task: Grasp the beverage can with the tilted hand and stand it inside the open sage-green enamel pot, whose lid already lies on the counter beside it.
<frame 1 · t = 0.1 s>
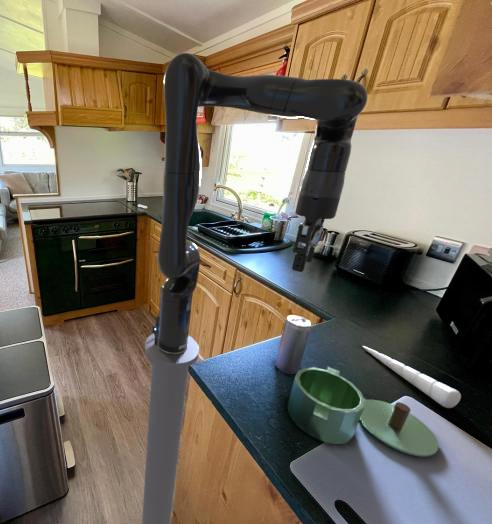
hand: (301, 265, 66), 31 cm above the countertop, tool pointing down, fingers open, 8 cm apart
beverage can: (286, 368, 80), on the countertop
pot: (318, 417, 64), on the countertop
pot lid: (394, 426, 62), point 1 cm above the countertop
unicorn horn: (402, 377, 78), on the countertop
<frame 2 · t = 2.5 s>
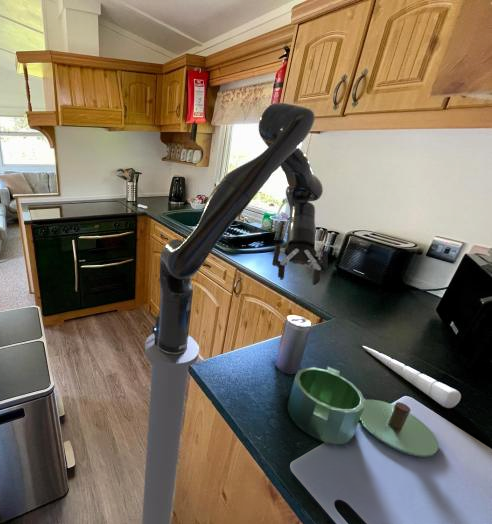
hand: (298, 281, 82), 22 cm above the countertop, tool tilted 45°, fingers open, 8 cm apart
nothing on the countertop moved.
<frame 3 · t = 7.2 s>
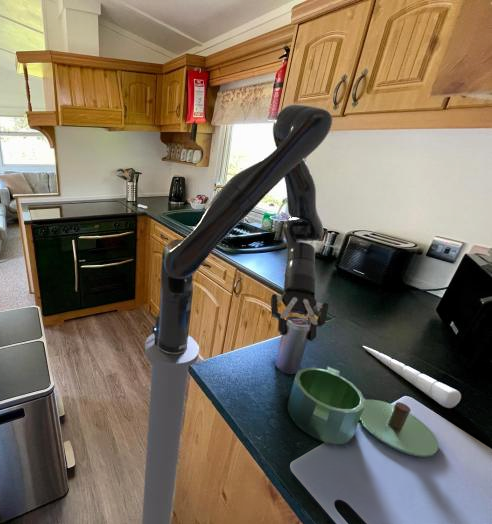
hand: (296, 336, 74), 11 cm above the countertop, tool tilted 45°, fingers closed on beverage can, 6 cm apart
beverage can: (286, 368, 80), on the countertop, touching gripper
everything else where it was.
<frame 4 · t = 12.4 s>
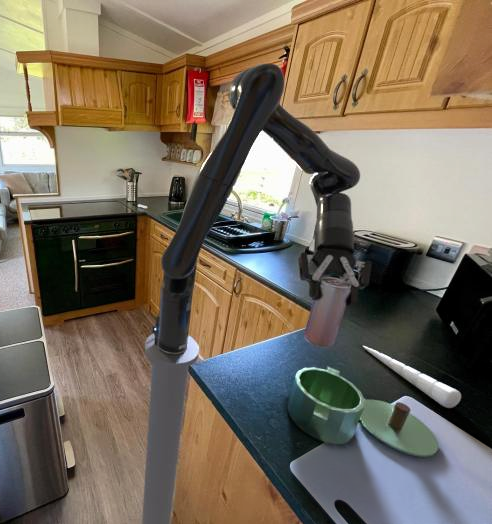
hand: (332, 301, 61), 26 cm above the countertop, tool tilted 45°, fingers closed on beverage can, 6 cm apart
beverage can: (317, 342, 66), point 15 cm above the countertop, touching gripper
everything else where it was.
when the fingers open (12 cm above the countertop, at t = 17.9 s): beverage can stays where it is, resting on pot.
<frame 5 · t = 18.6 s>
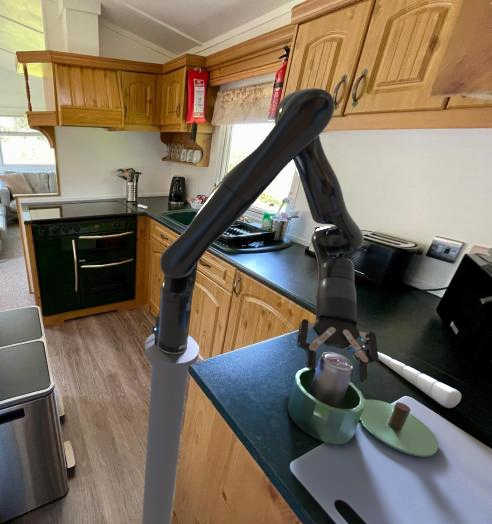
hand: (335, 376, 59), 13 cm above the countertop, tool tilted 45°, fingers open, 8 cm apart
beverage can: (318, 416, 64), resting on pot
everything else where it was.
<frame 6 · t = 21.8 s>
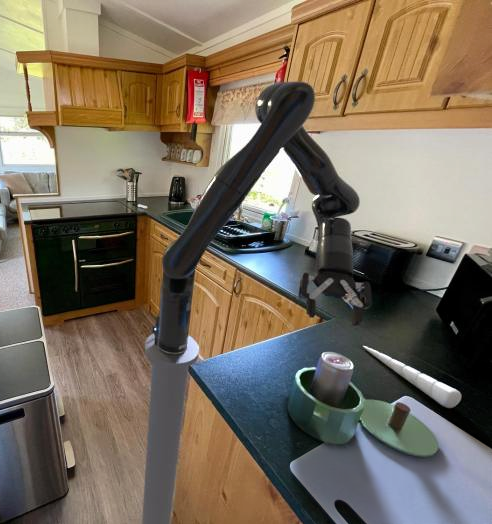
hand: (333, 320, 65), 20 cm above the countertop, tool tilted 45°, fingers open, 8 cm apart
nothing on the countertop moved.
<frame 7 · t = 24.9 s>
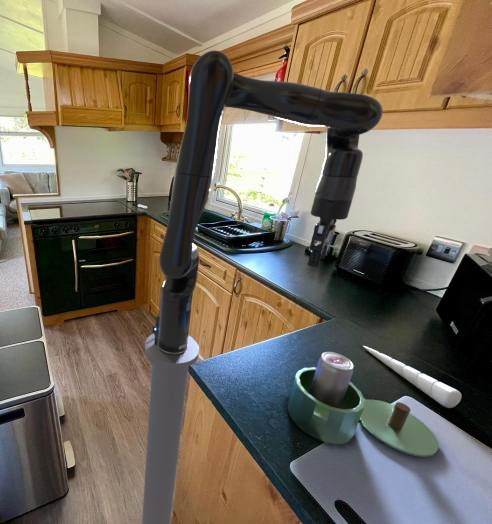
hand: (316, 262, 72), 30 cm above the countertop, tool pointing down, fingers open, 8 cm apart
nothing on the countertop moved.
at the end: beverage can 0.2 cm off-centre in the pot, point 0.3 cm above the pot's base; beverage can tilted 0° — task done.
